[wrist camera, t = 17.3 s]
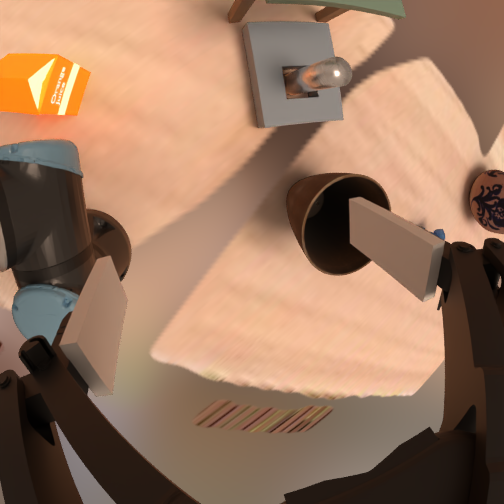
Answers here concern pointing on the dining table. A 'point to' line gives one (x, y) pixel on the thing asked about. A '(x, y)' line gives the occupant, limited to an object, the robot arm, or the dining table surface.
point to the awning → (329, 8)
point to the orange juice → (41, 84)
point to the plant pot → (330, 218)
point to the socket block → (285, 58)
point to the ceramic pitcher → (489, 200)
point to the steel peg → (318, 76)
